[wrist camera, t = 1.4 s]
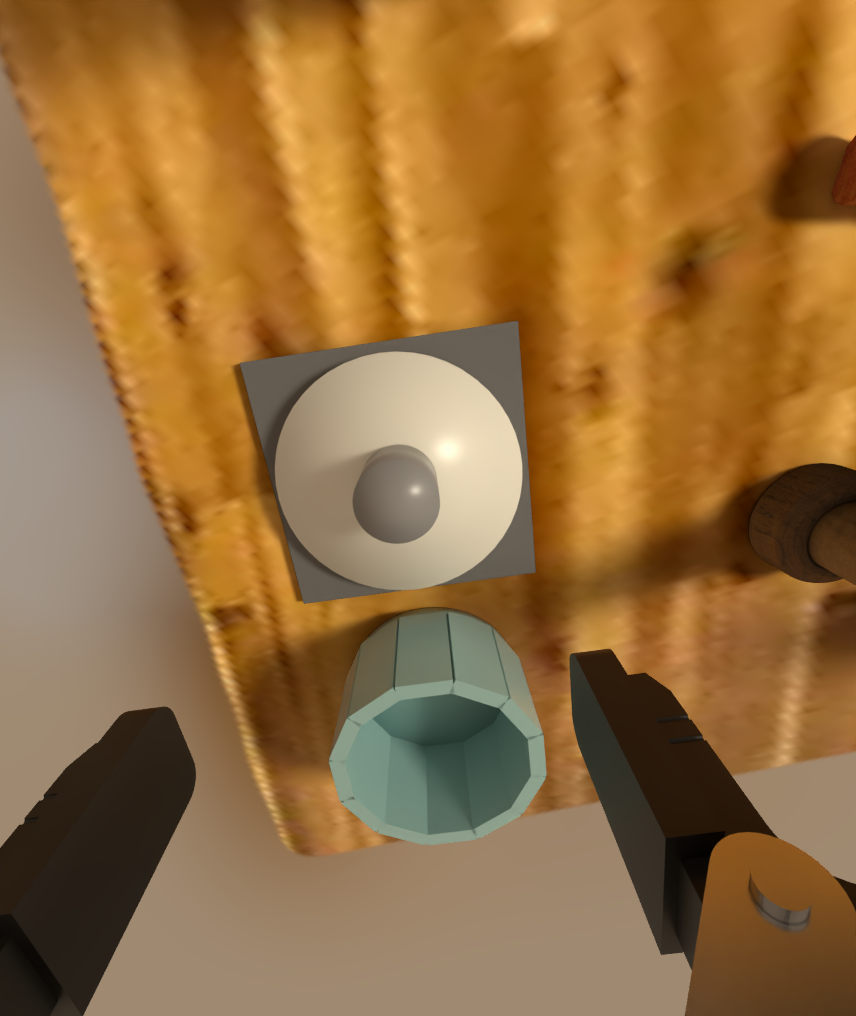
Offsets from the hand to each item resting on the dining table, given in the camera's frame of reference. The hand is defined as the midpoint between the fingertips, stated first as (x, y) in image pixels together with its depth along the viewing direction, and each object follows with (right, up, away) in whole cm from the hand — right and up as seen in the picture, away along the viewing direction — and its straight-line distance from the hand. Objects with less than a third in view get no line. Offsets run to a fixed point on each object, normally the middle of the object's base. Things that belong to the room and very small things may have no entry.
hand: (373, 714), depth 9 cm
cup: (+2, -7, +21) cm, 23 cm away
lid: (0, +6, +16) cm, 17 cm away
